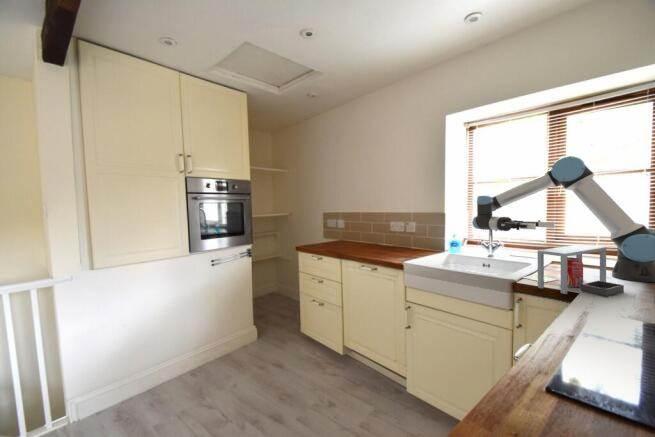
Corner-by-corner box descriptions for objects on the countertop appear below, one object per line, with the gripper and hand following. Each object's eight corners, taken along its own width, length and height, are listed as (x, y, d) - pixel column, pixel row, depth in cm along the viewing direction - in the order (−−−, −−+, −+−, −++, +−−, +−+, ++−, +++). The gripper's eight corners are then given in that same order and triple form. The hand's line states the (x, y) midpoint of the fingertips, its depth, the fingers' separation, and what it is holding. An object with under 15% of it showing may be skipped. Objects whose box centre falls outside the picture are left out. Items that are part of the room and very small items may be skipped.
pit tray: (597, 287, 115) (597, 280, 115) (623, 292, 108) (623, 285, 108) (581, 291, 111) (581, 284, 111) (607, 297, 103) (607, 289, 103)
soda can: (562, 282, 124) (562, 256, 123) (584, 285, 118) (584, 258, 118) (560, 286, 119) (560, 258, 118) (582, 289, 114) (582, 260, 113)
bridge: (578, 278, 129) (578, 244, 128) (606, 284, 119) (606, 247, 119) (537, 287, 118) (537, 250, 117) (565, 294, 109) (564, 253, 108)
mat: (535, 275, 137) (535, 274, 137) (558, 280, 128) (558, 279, 128) (521, 277, 133) (521, 277, 133) (544, 282, 124) (544, 282, 124)
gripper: (516, 229, 152) (560, 232, 132) (484, 232, 143) (527, 235, 123) (516, 215, 152) (560, 216, 132) (484, 217, 142) (527, 218, 123)
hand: (544, 225), depth 127 cm, fingers open, 13 cm apart
